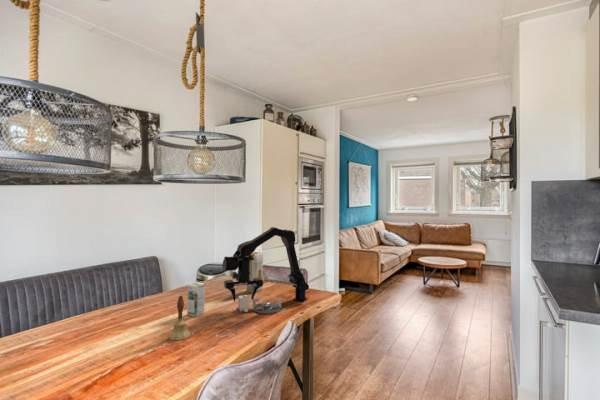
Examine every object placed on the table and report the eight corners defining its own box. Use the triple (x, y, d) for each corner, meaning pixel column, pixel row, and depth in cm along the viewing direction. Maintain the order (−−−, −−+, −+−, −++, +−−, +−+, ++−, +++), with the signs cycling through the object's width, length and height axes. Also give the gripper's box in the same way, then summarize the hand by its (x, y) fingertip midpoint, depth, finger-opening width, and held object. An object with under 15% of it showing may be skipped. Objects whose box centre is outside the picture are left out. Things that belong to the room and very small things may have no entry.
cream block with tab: (236, 306, 161) (237, 294, 161) (245, 305, 163) (245, 293, 163) (242, 312, 152) (242, 299, 152) (250, 311, 154) (251, 298, 154)
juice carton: (254, 293, 185) (255, 252, 185) (244, 291, 189) (244, 251, 189) (264, 289, 193) (264, 250, 193) (254, 287, 197) (254, 249, 197)
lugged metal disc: (251, 314, 151) (252, 303, 151) (254, 304, 165) (254, 294, 165) (281, 314, 152) (281, 303, 152) (280, 304, 166) (281, 294, 166)
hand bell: (169, 333, 129) (169, 294, 129) (190, 330, 132) (191, 292, 132) (168, 342, 121) (169, 300, 121) (191, 338, 124) (191, 298, 124)
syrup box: (186, 315, 149) (187, 284, 149) (196, 311, 154) (196, 281, 154) (195, 317, 147) (196, 286, 147) (204, 313, 152) (205, 283, 152)
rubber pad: (242, 306, 163) (242, 305, 163) (253, 308, 159) (253, 307, 159) (233, 310, 156) (233, 309, 156) (245, 312, 153) (245, 312, 153)
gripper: (257, 264, 169) (256, 294, 169) (222, 267, 161) (221, 297, 161) (263, 269, 159) (263, 300, 159) (226, 271, 151) (225, 304, 151)
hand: (243, 300), depth 158 cm, fingers open, 8 cm apart
